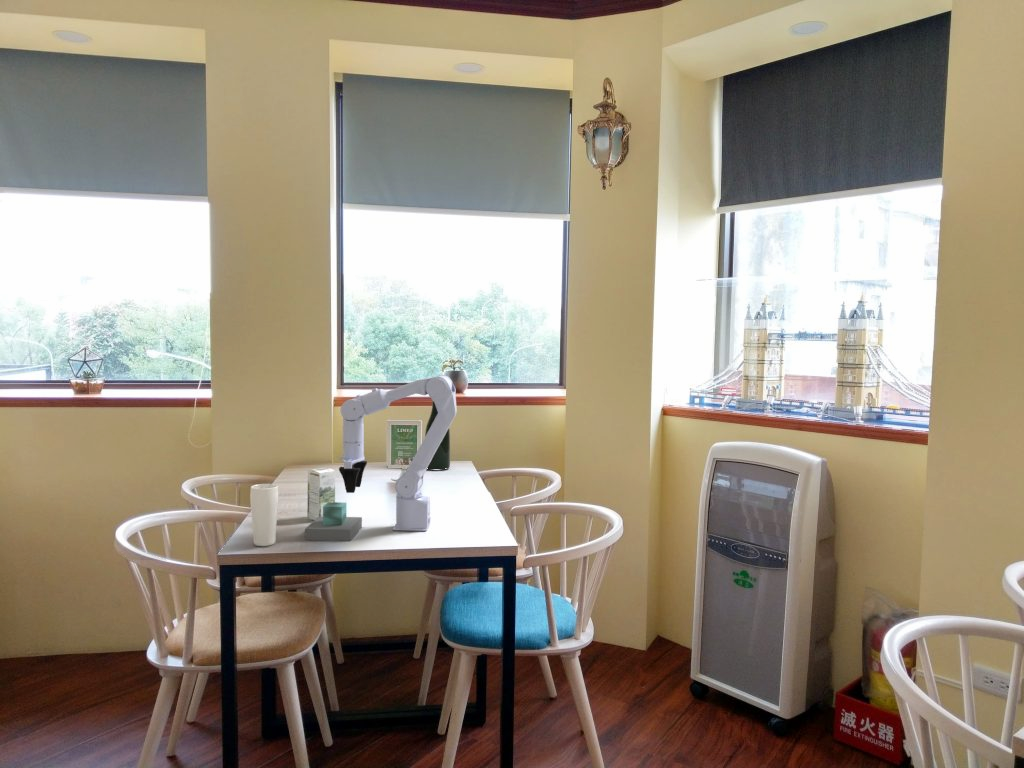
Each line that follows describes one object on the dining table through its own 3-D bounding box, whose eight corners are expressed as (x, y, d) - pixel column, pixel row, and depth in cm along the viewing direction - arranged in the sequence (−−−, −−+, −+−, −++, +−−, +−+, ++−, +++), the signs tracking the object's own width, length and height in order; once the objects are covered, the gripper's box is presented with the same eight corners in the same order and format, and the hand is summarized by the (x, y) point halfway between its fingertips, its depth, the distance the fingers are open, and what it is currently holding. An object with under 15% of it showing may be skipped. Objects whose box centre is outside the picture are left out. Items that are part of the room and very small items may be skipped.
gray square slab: (361, 527, 201) (361, 517, 201) (350, 540, 188) (350, 529, 188) (319, 526, 201) (319, 516, 201) (305, 539, 188) (305, 528, 188)
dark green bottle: (423, 466, 297) (424, 387, 295) (448, 466, 299) (449, 387, 297) (425, 471, 287) (425, 388, 285) (451, 470, 289) (452, 389, 287)
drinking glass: (266, 549, 180) (265, 489, 179) (244, 546, 182) (244, 487, 181) (284, 542, 186) (284, 484, 185) (263, 539, 188) (262, 482, 187)
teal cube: (346, 520, 197) (346, 502, 197) (341, 525, 192) (341, 506, 192) (328, 520, 197) (328, 502, 197) (323, 525, 192) (323, 506, 192)
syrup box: (323, 515, 215) (323, 466, 214) (335, 518, 211) (335, 469, 210) (307, 518, 210) (307, 469, 209) (319, 522, 207) (319, 472, 206)
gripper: (345, 437, 209) (345, 484, 210) (332, 445, 194) (332, 495, 195) (369, 438, 209) (369, 484, 210) (358, 445, 194) (358, 495, 195)
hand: (353, 489), depth 202 cm, fingers open, 7 cm apart
